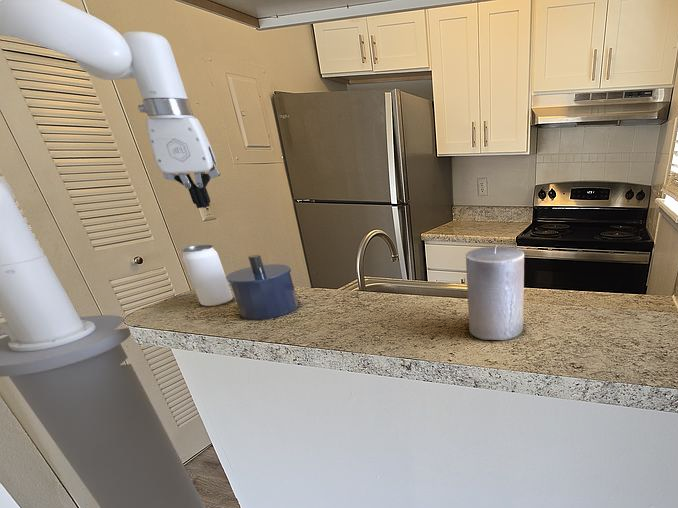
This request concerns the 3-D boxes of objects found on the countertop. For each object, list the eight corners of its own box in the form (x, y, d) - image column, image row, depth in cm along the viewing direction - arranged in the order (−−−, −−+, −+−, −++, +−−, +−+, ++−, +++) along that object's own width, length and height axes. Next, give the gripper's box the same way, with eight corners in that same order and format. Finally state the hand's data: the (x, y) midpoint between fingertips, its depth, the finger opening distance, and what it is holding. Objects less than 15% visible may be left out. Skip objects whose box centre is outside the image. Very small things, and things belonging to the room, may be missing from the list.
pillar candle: (499, 314, 78) (499, 236, 71) (534, 331, 71) (537, 245, 64) (458, 328, 74) (453, 245, 66) (491, 347, 67) (489, 256, 59)
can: (236, 295, 94) (218, 243, 88) (230, 304, 89) (210, 249, 83) (205, 299, 92) (184, 246, 87) (197, 308, 87) (174, 253, 81)
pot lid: (219, 289, 76) (211, 266, 74) (237, 272, 86) (230, 251, 84) (285, 283, 78) (279, 260, 76) (296, 267, 88) (290, 246, 86)
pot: (234, 322, 80) (221, 285, 76) (249, 303, 89) (238, 270, 85) (293, 316, 82) (283, 280, 78) (301, 297, 91) (293, 265, 87)
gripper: (117, 110, 77) (158, 212, 86) (203, 108, 79) (234, 207, 88) (137, 113, 83) (173, 207, 92) (216, 111, 86) (244, 202, 95)
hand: (203, 206), depth 90 cm, fingers closed
